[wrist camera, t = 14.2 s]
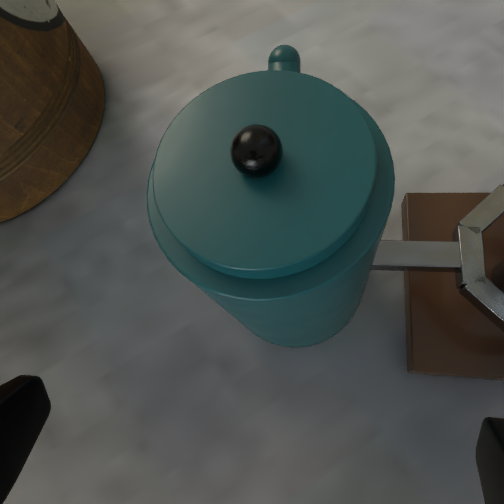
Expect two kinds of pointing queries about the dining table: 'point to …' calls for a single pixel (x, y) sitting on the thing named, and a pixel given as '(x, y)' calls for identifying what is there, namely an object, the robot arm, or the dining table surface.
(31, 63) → the wooden container
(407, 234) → the wooden peg stand
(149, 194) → the kettle
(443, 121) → the dining table surface
